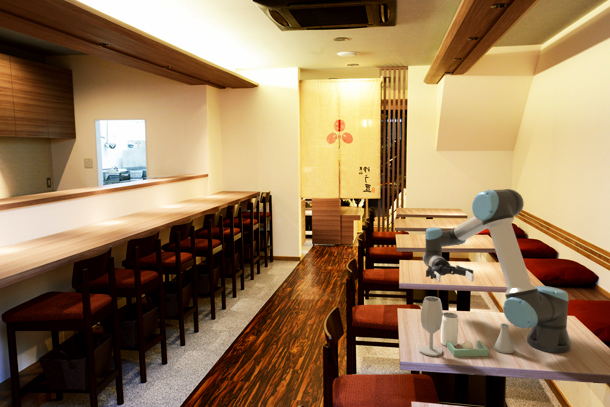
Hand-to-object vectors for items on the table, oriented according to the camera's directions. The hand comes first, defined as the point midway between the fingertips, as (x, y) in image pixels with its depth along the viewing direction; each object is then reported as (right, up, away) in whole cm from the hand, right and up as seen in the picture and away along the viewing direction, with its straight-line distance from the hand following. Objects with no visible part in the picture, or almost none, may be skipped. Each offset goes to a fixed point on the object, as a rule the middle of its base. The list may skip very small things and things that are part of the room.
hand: (456, 278), depth 181 cm
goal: (+1, -26, -10) cm, 28 cm away
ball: (+1, -24, -11) cm, 27 cm away
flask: (+15, -26, -9) cm, 32 cm away
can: (-4, -26, -4) cm, 26 cm away
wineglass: (-13, -27, -10) cm, 32 cm away
